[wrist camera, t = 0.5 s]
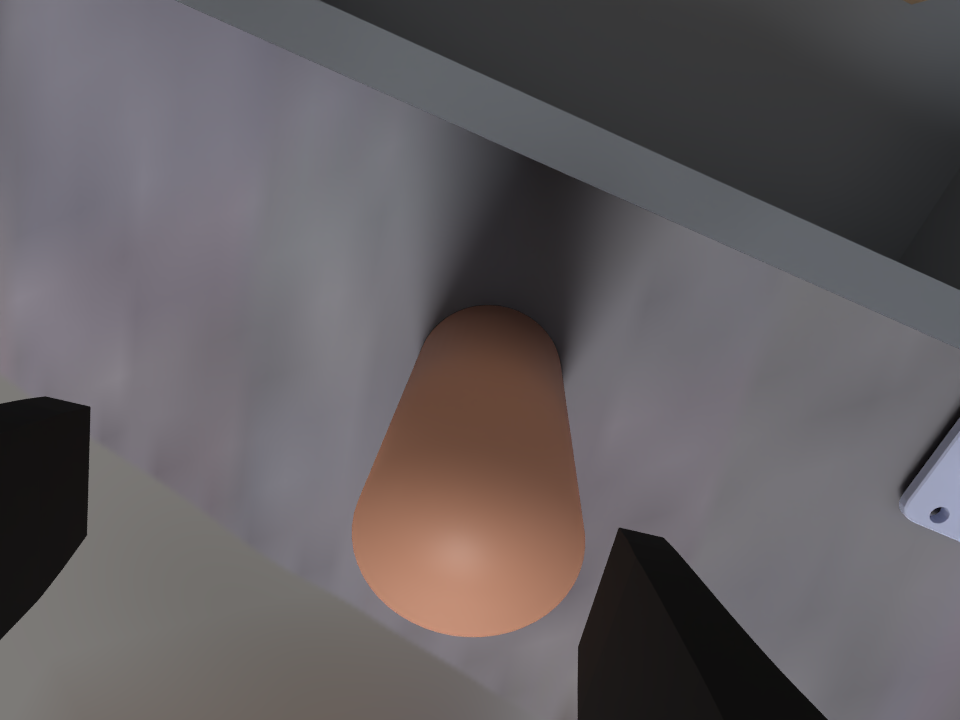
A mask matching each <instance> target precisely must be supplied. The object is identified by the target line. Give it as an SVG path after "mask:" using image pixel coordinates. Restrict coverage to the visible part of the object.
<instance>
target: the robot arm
mask: <svg viewBox="0 0 960 720" xmlns="http://www.w3.org/2000/svg"><path fill="white" fill-rule="evenodd" d="M89 441H90V407H89V406H85V405H81V404H76V403H72V402H68V401H63V400H59V399H54V398H50V397H46V396H45V397H38V398H30V399H24V400H18V401H12V402H7V403H3V404H0V640H1V638H2V637H3V636H4V635H5V634H6V633H7V632H8V631H9V630H10V629H11V628H12V627H13V626H14V625H15V624H16V623H17V622H18V621H19V620H20V619H21V618H22V617H23V616H24V614H26V612H27V611H28V610H29V609H30V608H31V607H32V606H33V605H34V604H35V603H36V602H37V601H38V600H39V598H40V597H41V596H42V595H43V594H44V592H45V591H46V590H47V588H48V587H49V586H50V585H51V583H52V582H53V581H54V579H55V578H56V577H57V576H58V574H59V573H60V572H61V570H62V569H63V568H64V566H65V565H66V564H67V562H68V561H69V559H70V558H71V557H72V555H73V554H74V552H75V551H76V550H77V548H78V547H79V546H80V544H81V543H82V541H83V540H84V539H85V537H86V536H87V512H88V511H87V510H88V477H89V475H88V474H89ZM938 507H942V508H941V510H940V512H938V513H937V514H935V515H932V516H930V513H931V511H933V510H934V509H935V508H938ZM899 508H900V510H901V512H902V513H903V514H904V515H905V516H906V517H907V518H908V519H909V520H910V521H912V522H914V523H916V524H919V525H921V526H924V527H926V528H928V529H931V530H933V531H935V532H938V533H940V534H943V535H945V536H947V537H950V538H952V539H955V540H957V541H959V542H960V418H959V419H958V420H957V422H956V423H955V424H954V426H953V427H952V429H951V430H950V431H949V433H948V434H947V435H946V437H945V438H944V439H943V441H942V442H941V443H940V445H939V446H938V447H937V449H936V450H935V451H934V453H933V454H932V456H931V457H930V458H929V460H928V461H927V462H926V464H925V465H924V466H923V468H922V469H921V470H920V472H919V473H918V474H917V476H916V477H915V478H914V480H913V481H912V483H911V484H910V485H909V487H908V488H907V489H906V491H905V492H904V493H903V495H902V496H901V498H900V501H899ZM578 720H828V719H827V718H826V717H825V716H824V715H823V714H822V713H821V712H820V711H819V710H818V709H817V708H816V707H815V706H814V705H813V704H812V703H811V702H810V701H809V700H808V699H807V698H806V697H805V696H804V695H803V694H802V693H801V692H800V691H799V690H798V689H797V688H796V686H795V685H794V684H793V683H792V682H791V681H790V680H789V679H788V678H787V677H786V676H785V675H784V674H783V673H782V672H781V671H780V670H779V668H778V667H777V666H776V665H775V664H774V663H773V662H772V661H771V660H770V659H769V658H768V656H767V655H766V654H765V653H764V652H763V651H762V650H761V649H760V648H759V646H758V645H757V644H756V643H755V642H754V641H753V640H752V639H751V637H750V636H749V635H748V634H747V633H746V632H745V631H744V629H743V628H742V627H741V626H740V625H739V624H738V623H737V621H736V620H735V619H734V618H733V617H732V616H731V615H730V613H729V612H728V611H727V610H726V609H725V608H724V606H723V605H722V604H721V603H720V602H719V600H718V599H717V598H716V597H715V596H714V595H713V593H712V592H711V591H710V590H709V589H708V587H707V586H706V585H705V584H704V583H703V582H702V580H701V579H700V578H699V577H698V576H697V574H696V573H695V572H694V571H693V570H692V569H691V567H690V566H689V565H688V564H687V563H686V562H685V560H684V559H683V558H682V557H681V556H680V555H679V554H678V552H677V551H676V550H675V549H674V548H673V547H672V546H671V545H670V544H669V543H668V542H667V541H666V540H665V539H664V538H663V537H658V536H654V535H650V534H645V533H641V532H637V531H632V530H628V529H623V528H619V529H618V532H617V535H616V538H615V540H614V543H613V546H612V549H611V552H610V555H609V558H608V561H607V564H606V567H605V570H604V573H603V576H602V579H601V581H600V584H599V587H598V590H597V593H596V596H595V599H594V602H593V605H592V608H591V611H590V614H589V617H588V620H587V623H586V625H585V628H584V631H583V634H582V637H581V640H580V643H579V646H578Z"/></svg>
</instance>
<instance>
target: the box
mask: <svg viewBox="0 0 960 720" xmlns="http://www.w3.org/2000/svg"><path fill="white" fill-rule="evenodd" d="M175 1H178V2H180V3H182V4H184V5H187V6H189V7H191V8H193V9H196V10H198V11H200V12H202V13H205V14H207V15H209V16H211V17H214V18H216V19H218V20H220V21H223V22H225V23H227V24H229V25H232V26H234V27H236V28H238V29H241V30H243V31H245V32H247V33H250V34H252V35H254V36H256V37H259V38H261V39H263V40H265V41H268V42H270V43H272V44H274V45H277V46H279V47H281V48H283V49H286V50H288V51H290V52H292V53H295V54H297V55H299V56H301V57H304V58H306V59H308V60H310V61H313V62H315V63H317V64H319V65H322V66H324V67H326V68H328V69H331V70H333V71H335V72H337V73H340V74H342V75H344V76H346V77H349V78H351V79H353V80H355V81H358V82H360V83H362V84H364V85H367V86H369V87H371V88H373V89H376V90H378V91H380V92H382V93H385V94H387V95H389V96H391V97H394V98H396V99H398V100H400V101H403V102H405V103H407V104H409V105H412V106H414V107H416V108H418V109H421V110H423V111H425V112H427V113H430V114H432V115H434V116H436V117H439V118H441V119H443V120H445V121H448V122H450V123H452V124H454V125H457V126H459V127H461V128H463V129H466V130H468V131H470V132H472V133H475V134H477V135H479V136H481V137H483V138H486V139H488V140H490V141H492V142H495V143H497V144H499V145H501V146H504V147H506V148H508V149H510V150H513V151H515V152H517V153H519V154H522V155H524V156H526V157H528V158H531V159H533V160H535V161H537V162H540V163H542V164H544V165H546V166H549V167H551V168H553V169H555V170H558V171H560V172H562V173H564V174H567V175H569V176H571V177H573V178H576V179H578V180H580V181H582V182H585V183H587V184H589V185H591V186H594V187H596V188H598V189H600V190H603V191H605V192H607V193H609V194H612V195H614V196H616V197H618V198H621V199H623V200H625V201H627V202H630V203H632V204H634V205H636V206H639V207H641V208H643V209H645V210H648V211H650V212H652V213H654V214H657V215H659V216H661V217H663V218H666V219H668V220H670V221H672V222H675V223H677V224H679V225H681V226H684V227H686V228H688V229H690V230H693V231H695V232H697V233H699V234H702V235H704V236H706V237H708V238H711V239H713V240H715V241H717V242H720V243H722V244H724V245H726V246H729V247H731V248H733V249H735V250H738V251H740V252H742V253H744V254H747V255H749V256H751V257H753V258H756V259H758V260H760V261H762V262H765V263H767V264H769V265H771V266H774V267H776V268H778V269H780V270H783V271H785V272H787V273H789V274H792V275H794V276H796V277H798V278H801V279H803V280H805V281H807V282H810V283H812V284H814V285H816V286H819V287H821V288H823V289H825V290H828V291H830V292H832V293H834V294H837V295H839V296H841V297H843V298H846V299H848V300H850V301H852V302H855V303H857V304H859V305H861V306H864V307H866V308H868V309H870V310H873V311H875V312H877V313H879V314H882V315H884V316H886V317H888V318H891V319H893V320H895V321H897V322H900V323H902V324H904V325H906V326H909V327H911V328H913V329H915V330H918V331H920V332H922V333H924V334H926V335H929V336H931V337H933V338H935V339H938V340H940V341H942V342H944V343H947V344H949V345H951V346H953V347H956V348H958V349H960V0H175Z"/></svg>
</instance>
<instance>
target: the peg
mask: <svg viewBox="0 0 960 720" xmlns="http://www.w3.org/2000/svg"><path fill="white" fill-rule="evenodd" d="M352 542H353V549H354V553H355V557H356V560H357V564H358V566H359V568H360V570H361V572H362V575H363V577H364V578H365V580H366V581H367V583H368V585H369V586H370V588H371V589H372V590H373V591H374V592H375V594H376V595H377V596H378V597H379V598H380V599H381V600H382V601H383V602H384V603H385V604H386V605H387V606H388V607H389V608H391V609H392V610H393V611H395V612H396V613H397V614H399V615H400V616H402V617H404V618H405V619H407V620H409V621H411V622H412V623H415V624H417V625H419V626H421V627H424V628H426V629H429V630H432V631H435V632H438V633H443V634H448V635H453V636H462V637H486V636H494V635H500V634H504V633H508V632H512V631H515V630H518V629H520V628H523V627H525V626H527V625H529V624H532V623H534V622H536V621H537V620H539V619H540V618H542V617H543V616H545V615H546V614H548V613H549V612H550V611H551V610H553V609H554V608H555V607H556V606H557V605H558V604H559V603H560V602H561V601H562V600H563V599H564V598H565V596H566V595H567V594H568V592H569V591H570V589H571V588H572V586H573V585H574V583H575V581H576V579H577V577H578V575H579V572H580V569H581V566H582V562H583V558H584V551H585V532H584V525H583V518H582V511H581V504H580V497H579V490H578V483H577V476H576V469H575V462H574V455H573V448H572V441H571V434H570V427H569V420H568V413H567V406H566V399H565V391H564V384H563V377H562V370H561V364H560V358H559V355H558V352H557V349H556V347H555V345H554V343H553V341H552V340H551V338H550V337H549V335H548V334H547V332H546V331H545V330H544V329H543V328H542V327H541V326H540V325H539V324H538V323H537V322H536V321H534V320H533V319H531V318H530V317H528V316H527V315H525V314H523V313H521V312H519V311H516V310H514V309H511V308H507V307H502V306H495V305H480V306H474V307H469V308H466V309H463V310H460V311H458V312H456V313H453V314H452V315H450V316H448V317H447V318H445V319H444V320H443V321H441V322H440V323H439V324H438V325H437V326H436V327H435V328H434V329H433V330H432V331H431V333H430V334H429V336H428V337H427V339H426V340H425V342H424V344H423V346H422V349H421V351H420V354H419V356H418V358H417V361H416V363H415V366H414V368H413V370H412V373H411V375H410V378H409V380H408V382H407V385H406V387H405V390H404V392H403V394H402V397H401V399H400V402H399V404H398V406H397V409H396V411H395V414H394V416H393V418H392V421H391V423H390V426H389V428H388V430H387V433H386V435H385V438H384V440H383V442H382V445H381V447H380V450H379V452H378V454H377V457H376V459H375V462H374V464H373V466H372V469H371V471H370V474H369V476H368V478H367V481H366V483H365V486H364V488H363V490H362V493H361V495H360V498H359V500H358V503H357V506H356V509H355V512H354V517H353V524H352Z"/></svg>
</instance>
